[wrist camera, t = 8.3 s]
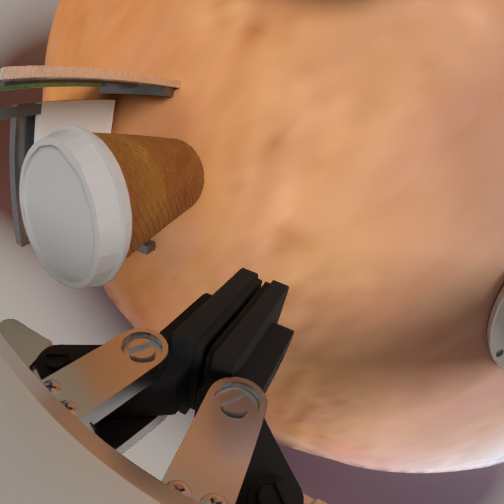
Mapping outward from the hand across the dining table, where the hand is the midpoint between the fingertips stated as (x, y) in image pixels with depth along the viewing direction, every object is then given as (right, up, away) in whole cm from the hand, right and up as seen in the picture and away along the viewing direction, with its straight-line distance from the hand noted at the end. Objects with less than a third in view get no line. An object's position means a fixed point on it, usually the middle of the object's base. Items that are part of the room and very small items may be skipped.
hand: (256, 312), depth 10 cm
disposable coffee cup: (-7, +8, +13) cm, 17 cm away
